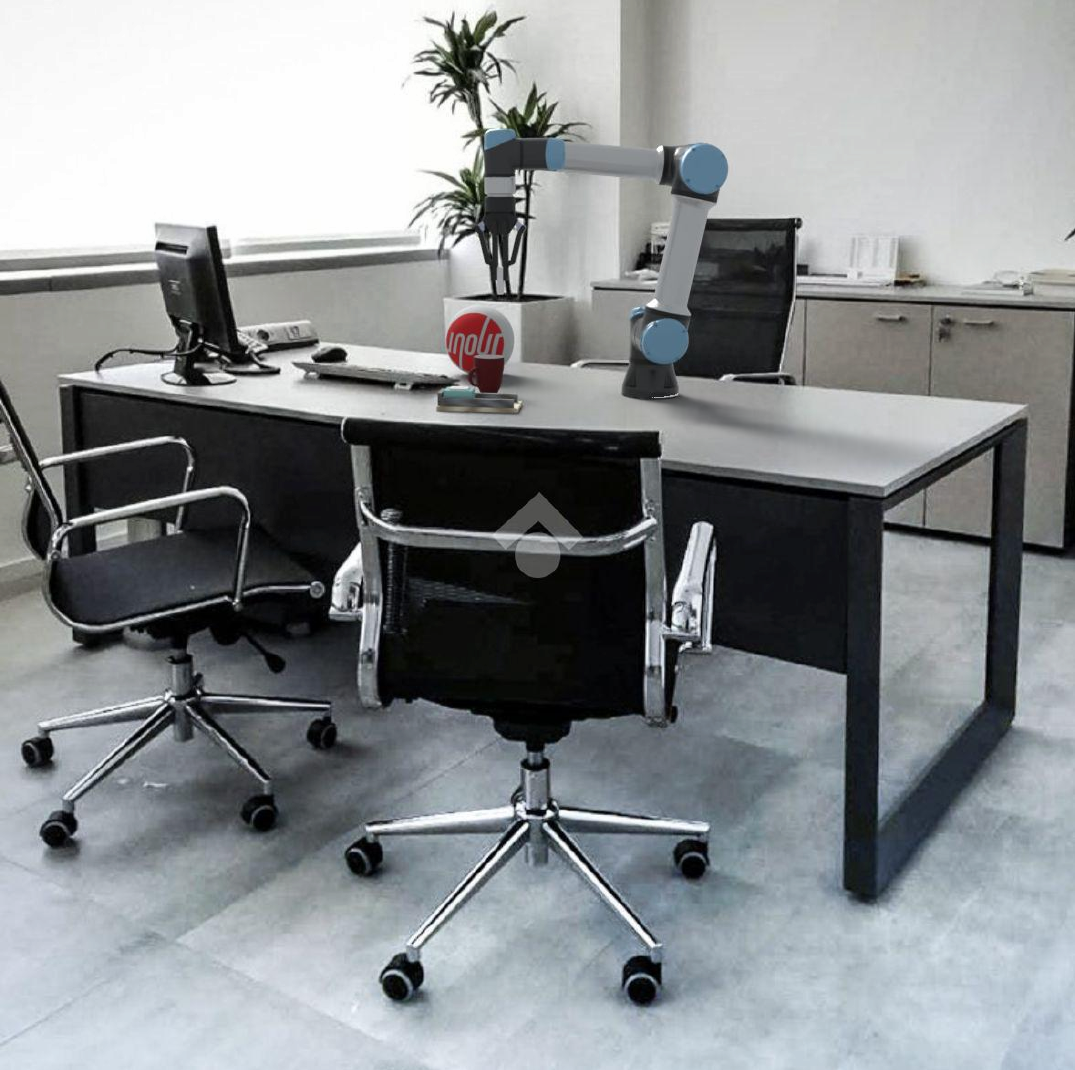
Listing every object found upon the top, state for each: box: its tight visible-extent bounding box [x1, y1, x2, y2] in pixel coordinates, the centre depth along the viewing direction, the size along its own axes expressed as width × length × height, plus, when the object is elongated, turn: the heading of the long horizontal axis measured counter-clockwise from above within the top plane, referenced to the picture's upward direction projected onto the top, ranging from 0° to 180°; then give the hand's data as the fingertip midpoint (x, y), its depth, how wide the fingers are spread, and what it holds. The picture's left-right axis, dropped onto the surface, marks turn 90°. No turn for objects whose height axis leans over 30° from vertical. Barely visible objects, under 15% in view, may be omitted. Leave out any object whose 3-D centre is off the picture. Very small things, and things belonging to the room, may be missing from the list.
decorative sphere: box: [444, 304, 515, 376], centre depth 376 cm, size 20×20×20 cm
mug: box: [467, 355, 505, 393], centre depth 345 cm, size 10×8×10 cm
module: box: [444, 385, 476, 398], centre depth 328 cm, size 7×6×4 cm
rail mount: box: [435, 387, 523, 414], centre depth 328 cm, size 20×11×4 cm, turn 85°
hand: (500, 293), depth 326 cm, fingers closed
